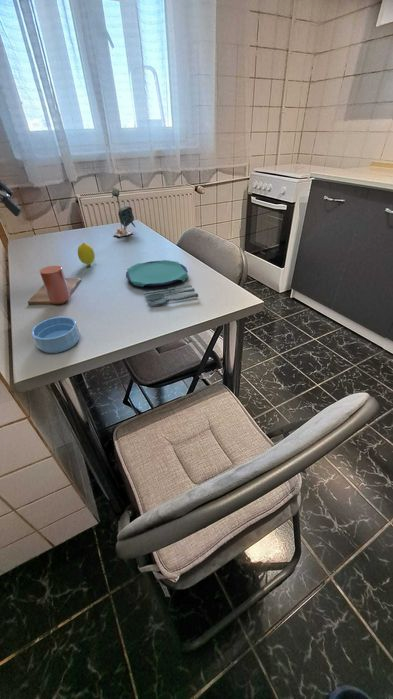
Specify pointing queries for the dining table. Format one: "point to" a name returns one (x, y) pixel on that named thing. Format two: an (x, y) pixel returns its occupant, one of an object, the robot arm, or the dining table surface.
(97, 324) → the dining table surface
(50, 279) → the terracotta cylindrical canister
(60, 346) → the bowl
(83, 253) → the lemon
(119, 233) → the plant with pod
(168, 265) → the cutlery set
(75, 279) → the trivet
